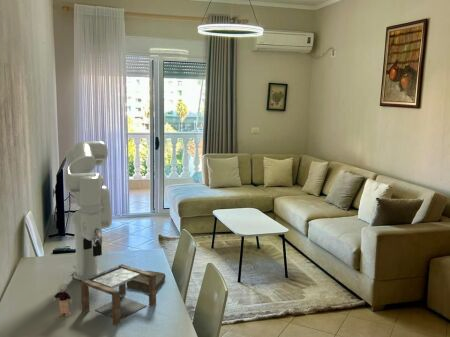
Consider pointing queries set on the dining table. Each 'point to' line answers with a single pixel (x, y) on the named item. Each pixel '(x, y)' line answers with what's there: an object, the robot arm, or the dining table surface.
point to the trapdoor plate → (114, 277)
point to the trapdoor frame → (118, 297)
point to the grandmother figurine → (63, 300)
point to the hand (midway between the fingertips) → (92, 252)
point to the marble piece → (146, 282)
